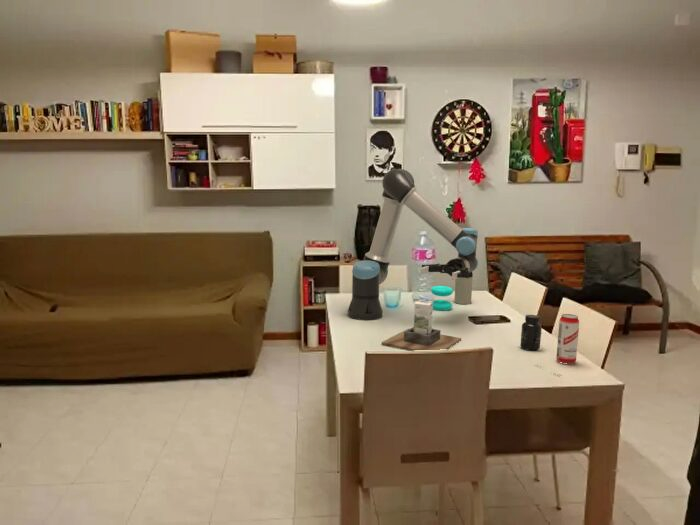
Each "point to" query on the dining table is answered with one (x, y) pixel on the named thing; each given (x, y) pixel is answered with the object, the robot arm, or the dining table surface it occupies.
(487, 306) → the dining table surface
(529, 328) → the supplement bottle
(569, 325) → the beer can
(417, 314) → the syrup box
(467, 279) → the travel mug
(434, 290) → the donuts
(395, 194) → the robot arm
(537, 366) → the butter knife
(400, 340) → the collar board
